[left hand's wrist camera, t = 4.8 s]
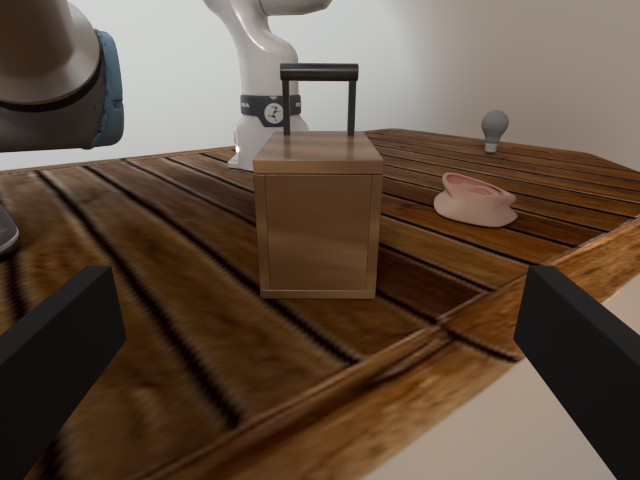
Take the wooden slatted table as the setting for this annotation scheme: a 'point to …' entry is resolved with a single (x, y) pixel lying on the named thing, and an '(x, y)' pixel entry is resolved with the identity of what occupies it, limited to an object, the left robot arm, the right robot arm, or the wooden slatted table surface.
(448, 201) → the anatomical model
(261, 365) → the wooden slatted table surface
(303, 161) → the lid
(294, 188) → the chest
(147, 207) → the wooden slatted table surface
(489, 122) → the light bulb
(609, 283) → the wooden slatted table surface
